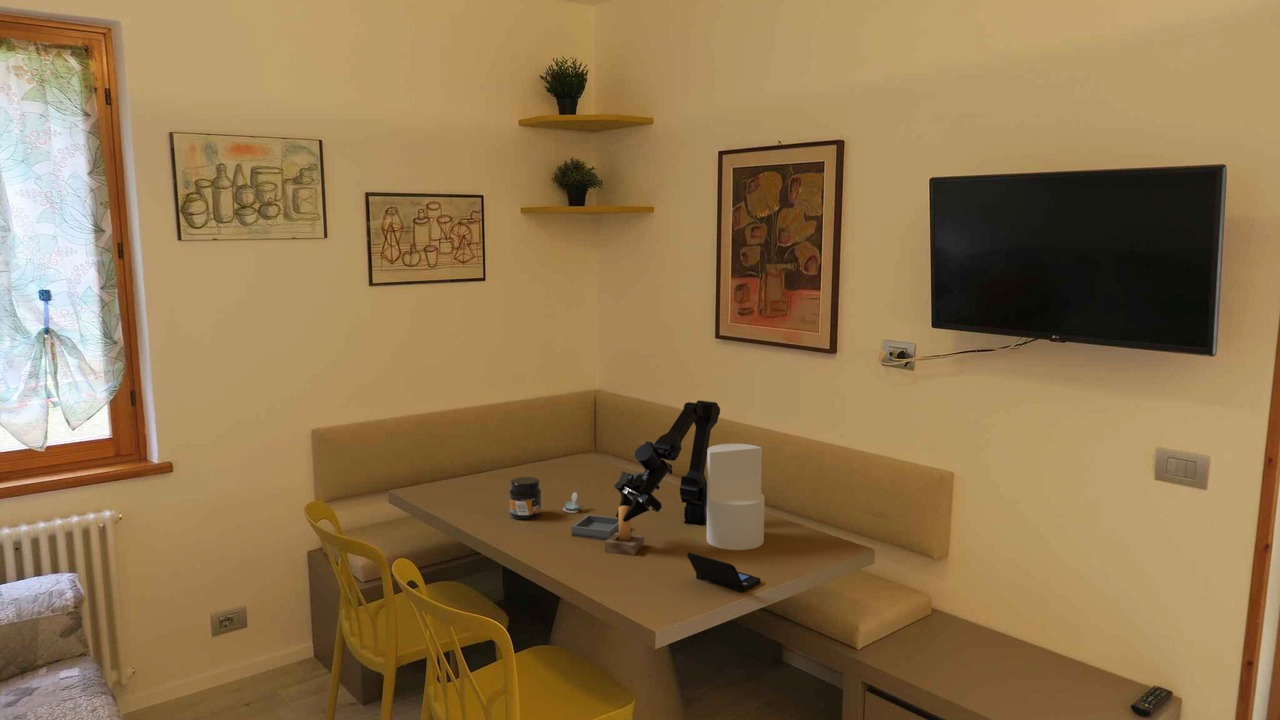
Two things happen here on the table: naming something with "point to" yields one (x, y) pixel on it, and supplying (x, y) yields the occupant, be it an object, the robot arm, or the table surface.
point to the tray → (596, 527)
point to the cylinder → (734, 497)
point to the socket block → (624, 544)
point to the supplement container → (525, 498)
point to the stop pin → (624, 525)
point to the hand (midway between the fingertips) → (620, 519)
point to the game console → (721, 573)
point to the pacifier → (572, 504)
